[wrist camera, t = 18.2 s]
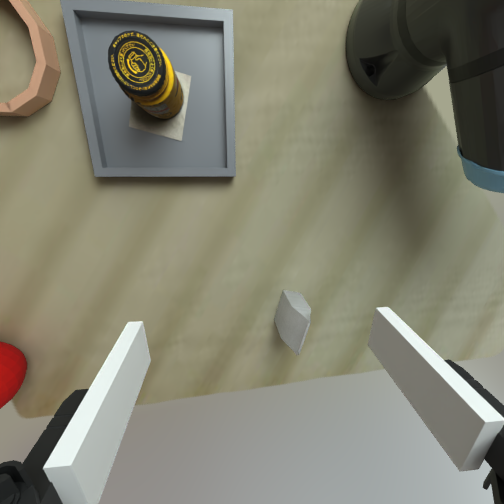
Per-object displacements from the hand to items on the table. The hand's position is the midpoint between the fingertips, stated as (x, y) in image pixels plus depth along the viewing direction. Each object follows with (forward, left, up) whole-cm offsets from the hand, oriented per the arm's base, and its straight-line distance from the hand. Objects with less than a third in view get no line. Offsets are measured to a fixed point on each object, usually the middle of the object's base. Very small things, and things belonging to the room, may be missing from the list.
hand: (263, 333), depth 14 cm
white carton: (-10, +18, -31) cm, 37 cm away
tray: (+10, -17, -30) cm, 36 cm away
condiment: (+10, -17, -30) cm, 36 cm away
